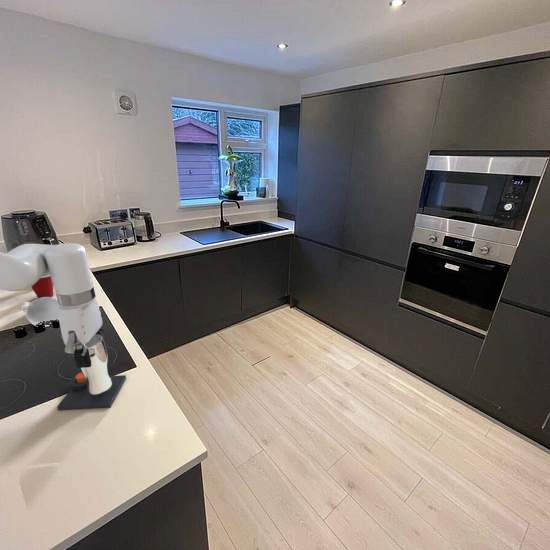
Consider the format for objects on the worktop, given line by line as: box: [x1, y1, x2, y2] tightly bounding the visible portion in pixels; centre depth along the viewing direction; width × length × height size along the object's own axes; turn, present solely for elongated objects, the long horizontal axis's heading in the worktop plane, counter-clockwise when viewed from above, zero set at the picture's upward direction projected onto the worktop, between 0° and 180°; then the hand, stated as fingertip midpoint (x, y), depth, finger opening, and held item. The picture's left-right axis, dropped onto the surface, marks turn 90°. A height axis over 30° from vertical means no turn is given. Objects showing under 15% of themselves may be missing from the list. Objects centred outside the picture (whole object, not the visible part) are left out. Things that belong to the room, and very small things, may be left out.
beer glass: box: [77, 334, 112, 395], centre depth 76 cm, size 7×7×15 cm
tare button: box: [75, 371, 86, 383], centre depth 82 cm, size 3×3×2 cm
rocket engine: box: [20, 297, 60, 328], centre depth 116 cm, size 12×12×18 cm
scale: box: [56, 374, 127, 412], centre depth 80 cm, size 14×12×3 cm
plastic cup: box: [30, 274, 54, 299], centre depth 133 cm, size 11×11×12 cm
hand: (92, 356), depth 75 cm, fingers closed on beer glass, 7 cm apart
